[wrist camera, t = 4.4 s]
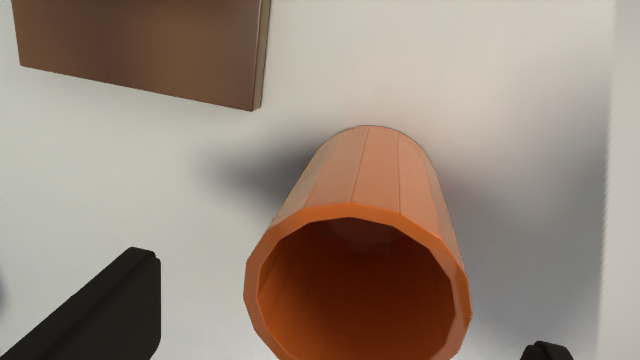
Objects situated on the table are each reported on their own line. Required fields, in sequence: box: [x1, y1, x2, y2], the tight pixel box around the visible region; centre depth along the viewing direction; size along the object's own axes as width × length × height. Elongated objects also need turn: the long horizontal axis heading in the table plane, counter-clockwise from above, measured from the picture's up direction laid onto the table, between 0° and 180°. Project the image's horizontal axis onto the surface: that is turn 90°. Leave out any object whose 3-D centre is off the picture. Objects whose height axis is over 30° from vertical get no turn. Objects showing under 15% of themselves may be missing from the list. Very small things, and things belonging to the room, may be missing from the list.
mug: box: [243, 126, 472, 360], centre depth 16 cm, size 11×6×9 cm, turn 171°
